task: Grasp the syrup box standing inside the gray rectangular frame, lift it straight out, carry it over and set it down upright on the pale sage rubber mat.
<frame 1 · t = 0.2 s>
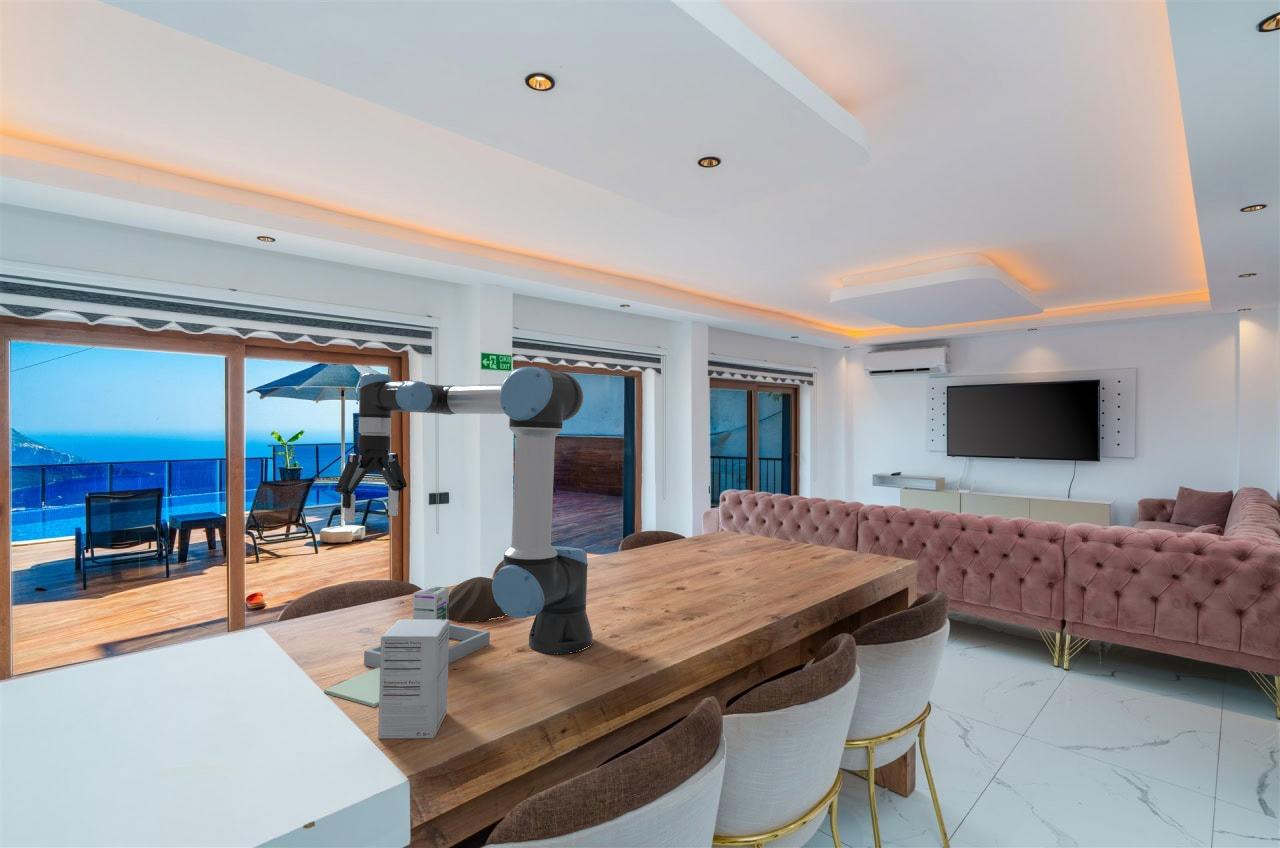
hand: (371, 518, 156), 28 cm above the table, fingers open, 13 cm apart
gray rectangular frame: (429, 654, 139), on the table
mat: (376, 687, 120), on the table
decorative dome: (477, 613, 172), on the table
supplement box: (413, 727, 105), on the table
syrup box: (429, 655, 138), resting in gray rectangular frame
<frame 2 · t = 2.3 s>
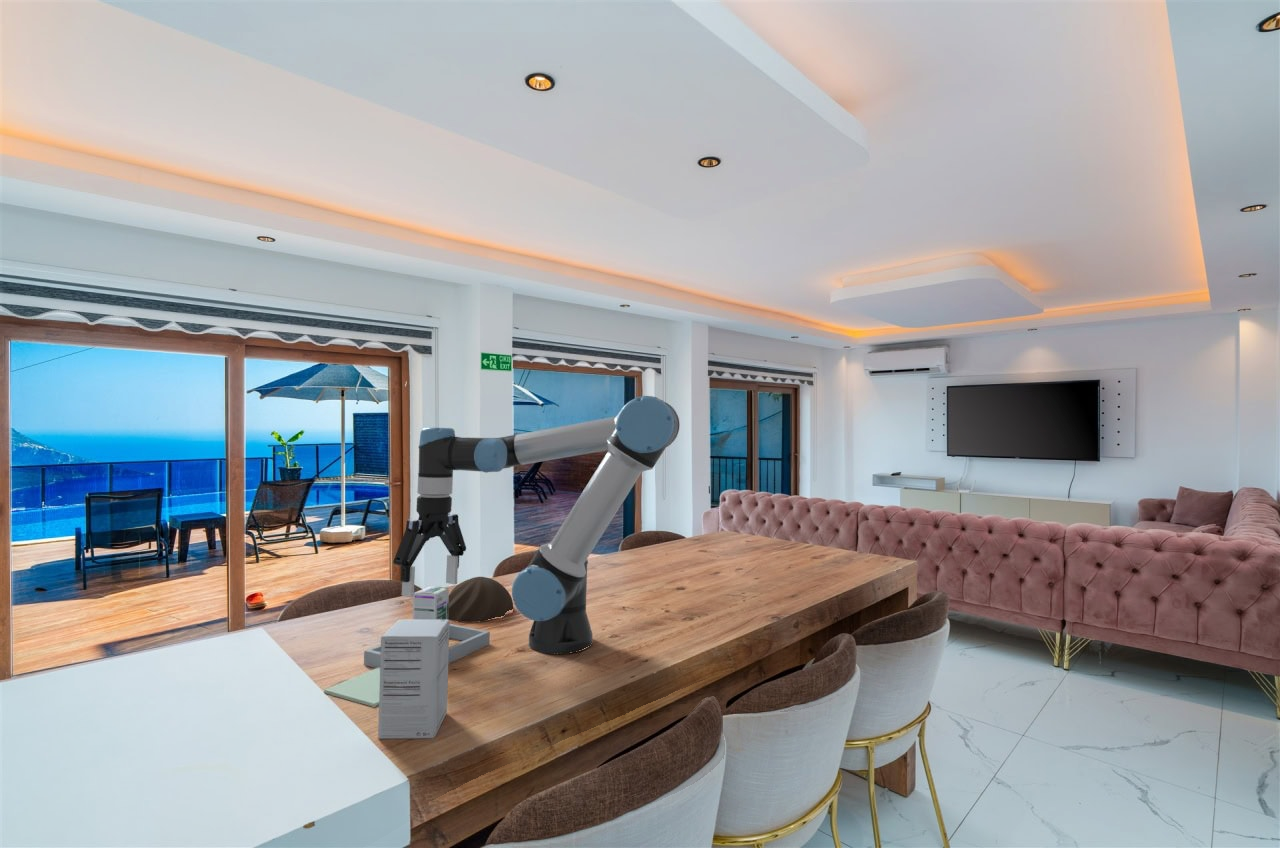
hand: (430, 589, 139), 14 cm above the table, fingers open, 13 cm apart
nothing on the table moved.
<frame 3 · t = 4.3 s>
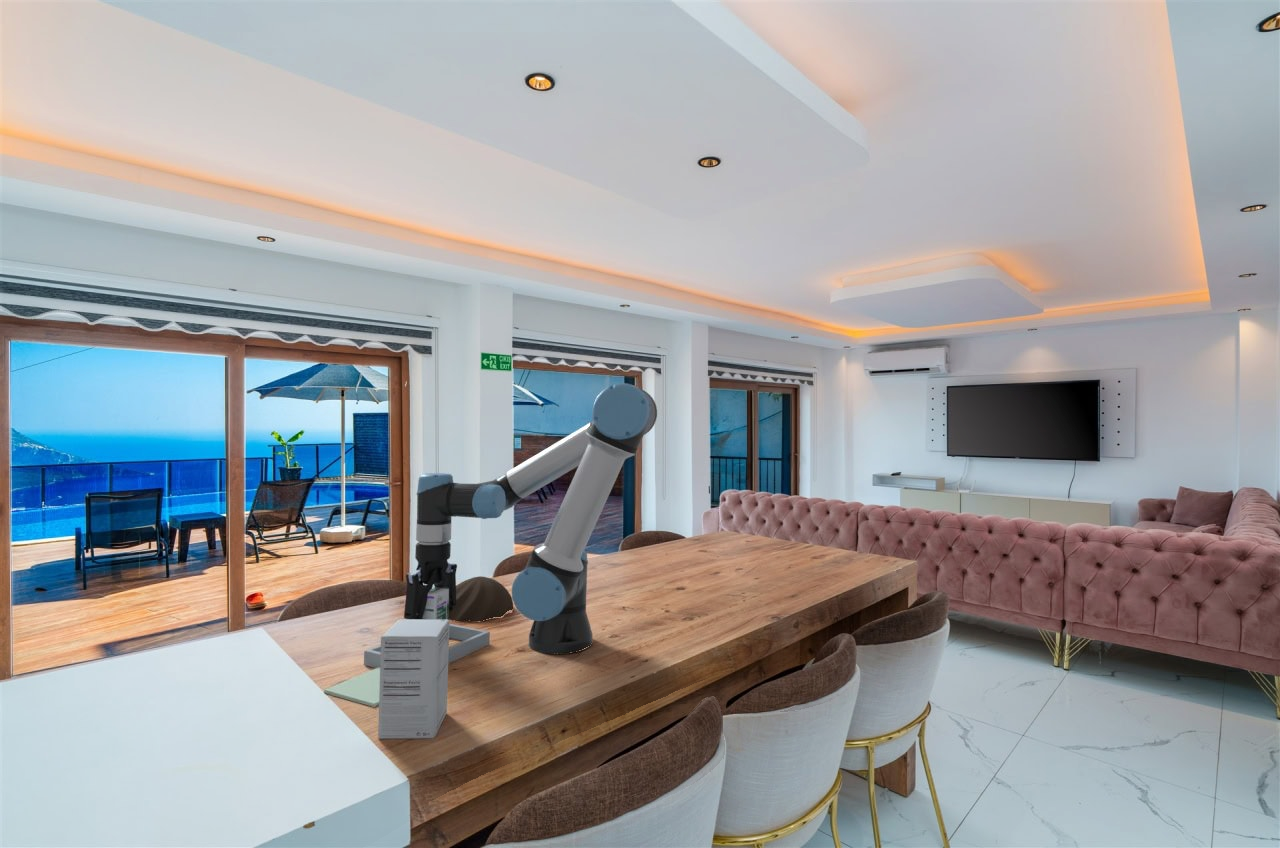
hand: (430, 644, 139), 2 cm above the table, fingers closed on syrup box, 6 cm apart
syrup box: (429, 654, 138), resting in gray rectangular frame, touching gripper
everything else where it was.
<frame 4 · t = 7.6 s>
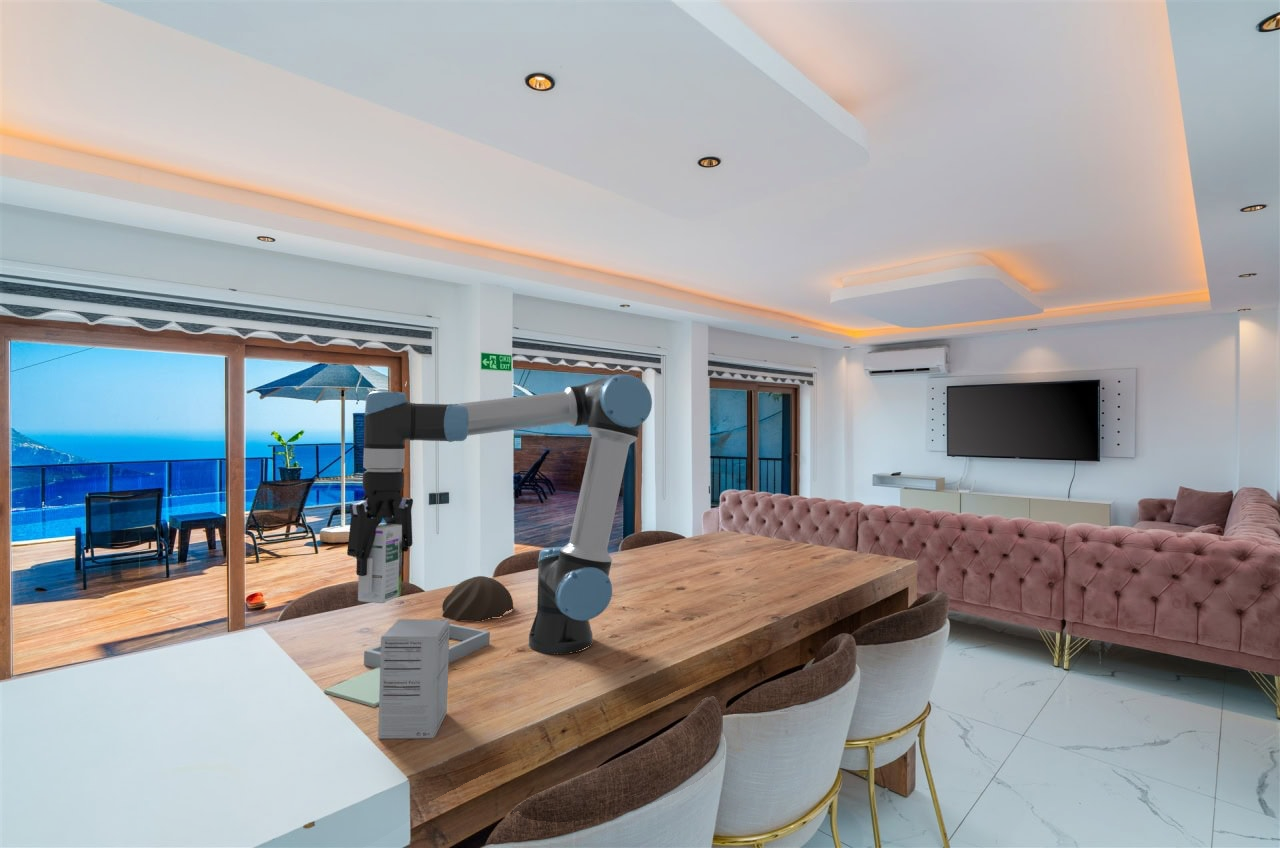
hand: (380, 587, 120), 19 cm above the table, fingers closed on syrup box, 6 cm apart
syrup box: (379, 599, 120), point 17 cm above the table, touching gripper
everything else where it was.
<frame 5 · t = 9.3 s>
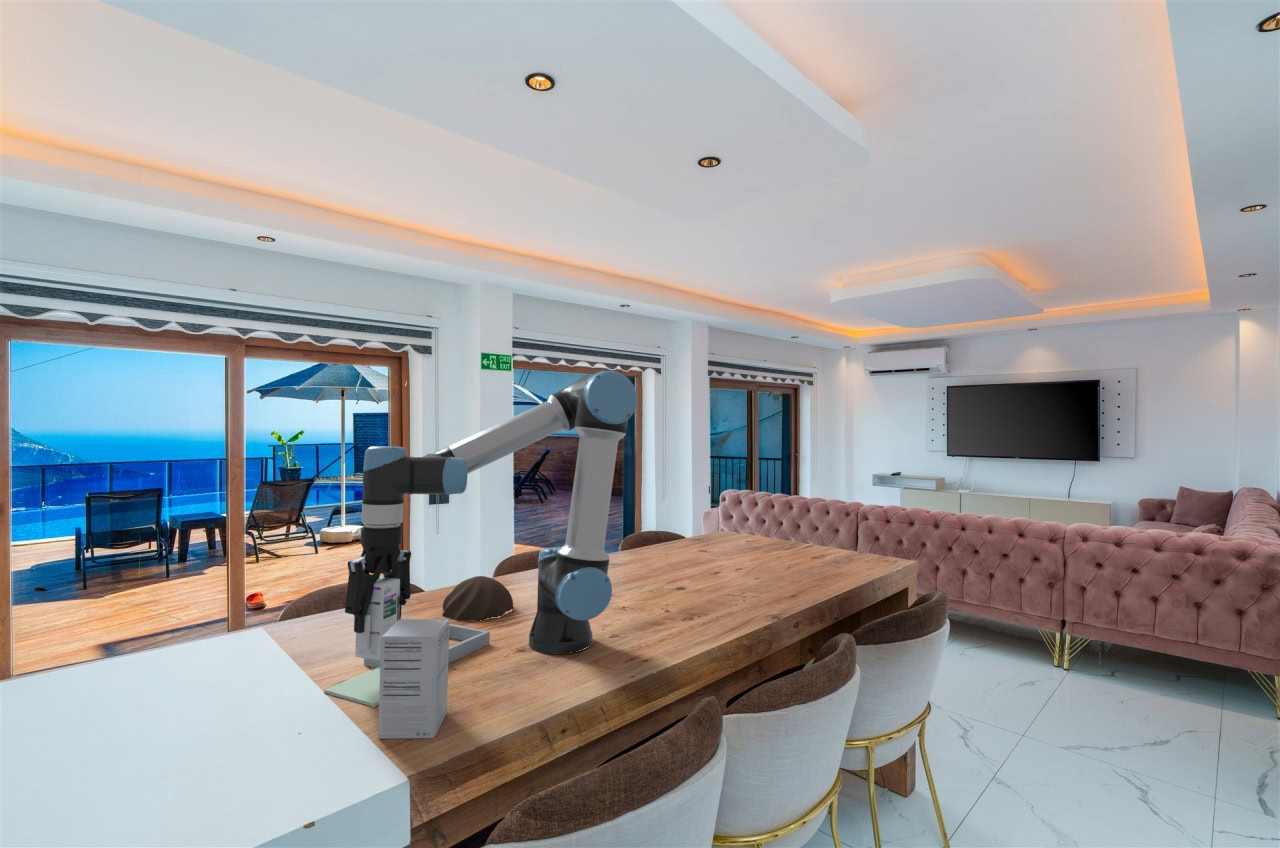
hand: (377, 642, 120), 9 cm above the table, fingers closed on syrup box, 6 cm apart
syrup box: (376, 655, 120), point 6 cm above the table, touching gripper
when the fingers open (4 cm above the table, at t = 11.0 s): syrup box drops 1 cm, resting on mat.
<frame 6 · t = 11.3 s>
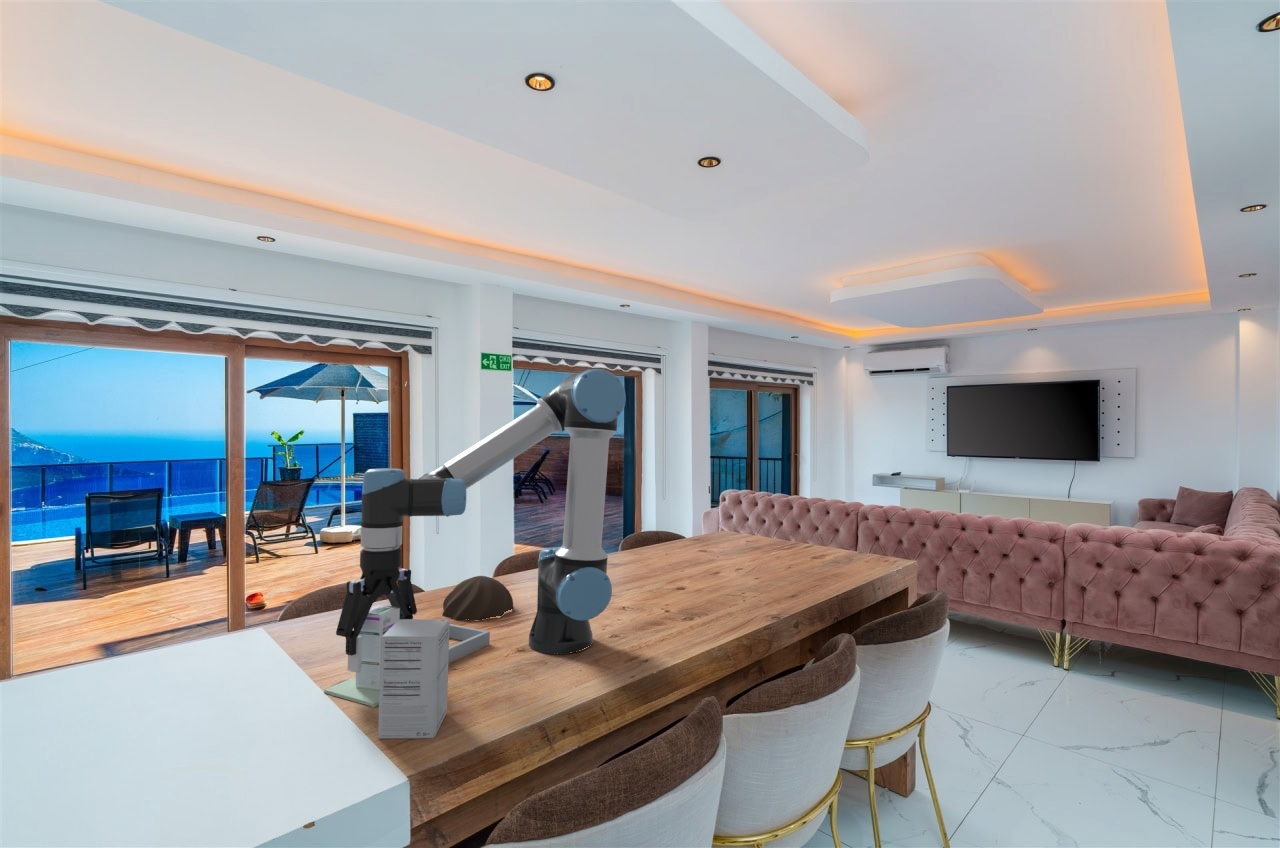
hand: (377, 661, 120), 5 cm above the table, fingers open, 10 cm apart
syrup box: (376, 684, 120), resting on mat
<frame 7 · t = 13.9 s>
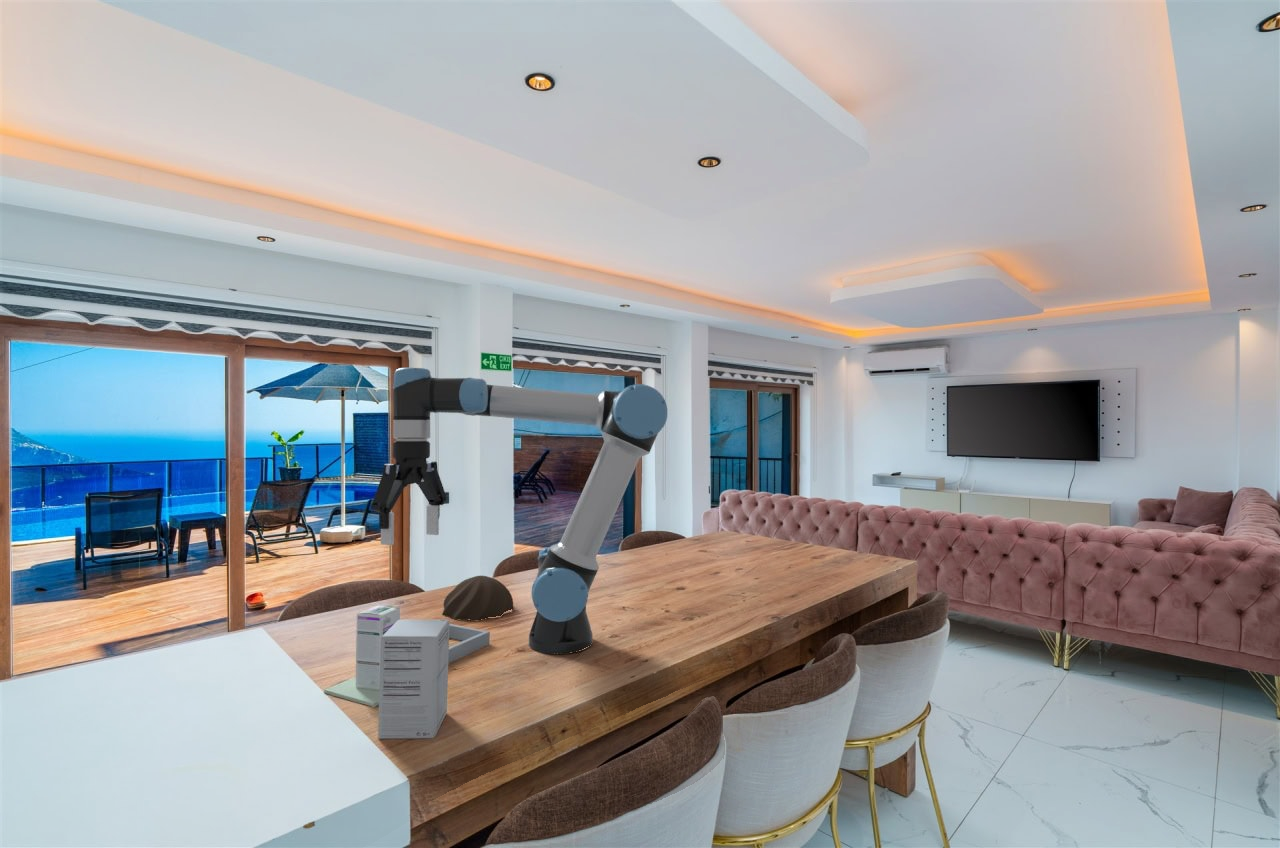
hand: (410, 539, 132), 27 cm above the table, fingers open, 13 cm apart
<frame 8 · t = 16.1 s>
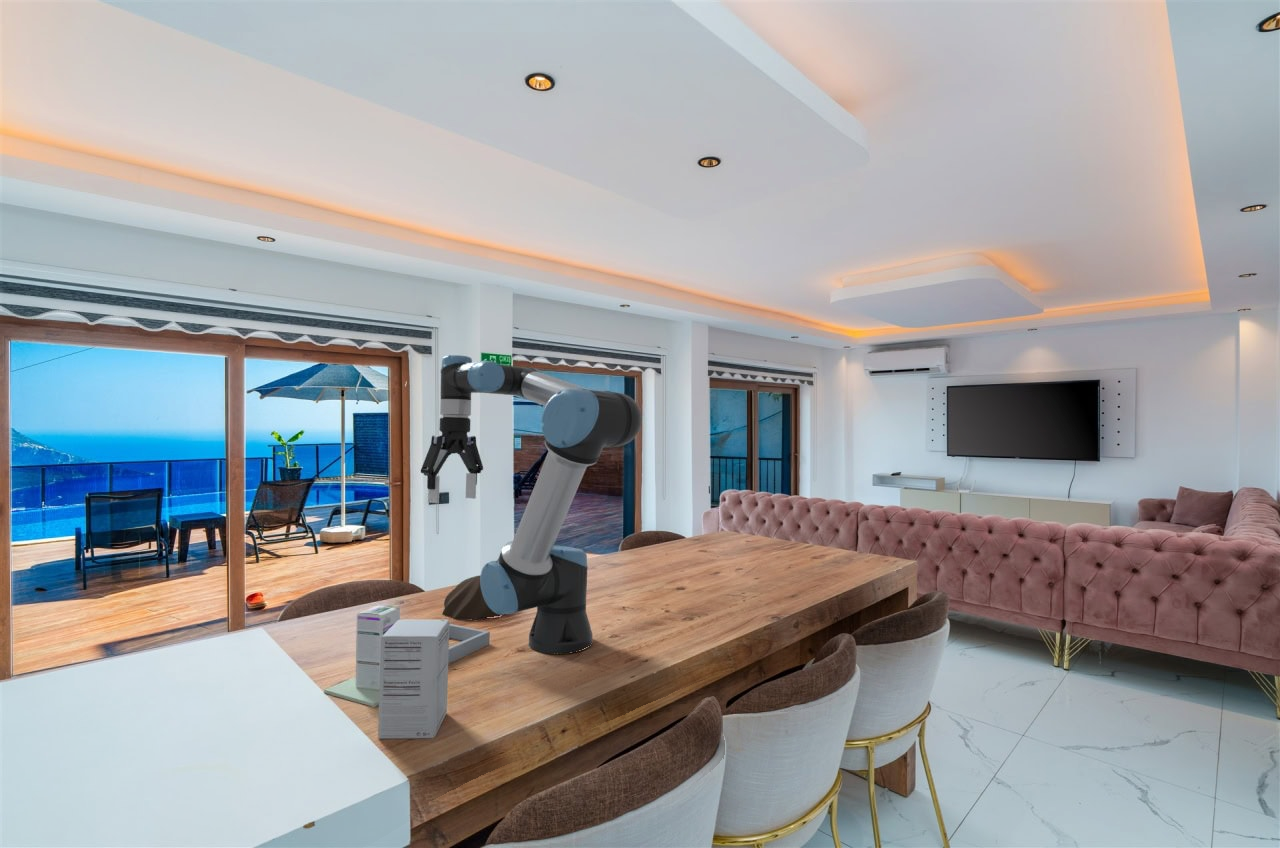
hand: (452, 500, 156), 33 cm above the table, fingers open, 13 cm apart
at the end: syrup box inside the target area on the mat (0.1 cm from its centre), point 0.4 cm above the mat's base; syrup box tilted 0°; the gripper is holding nothing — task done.
